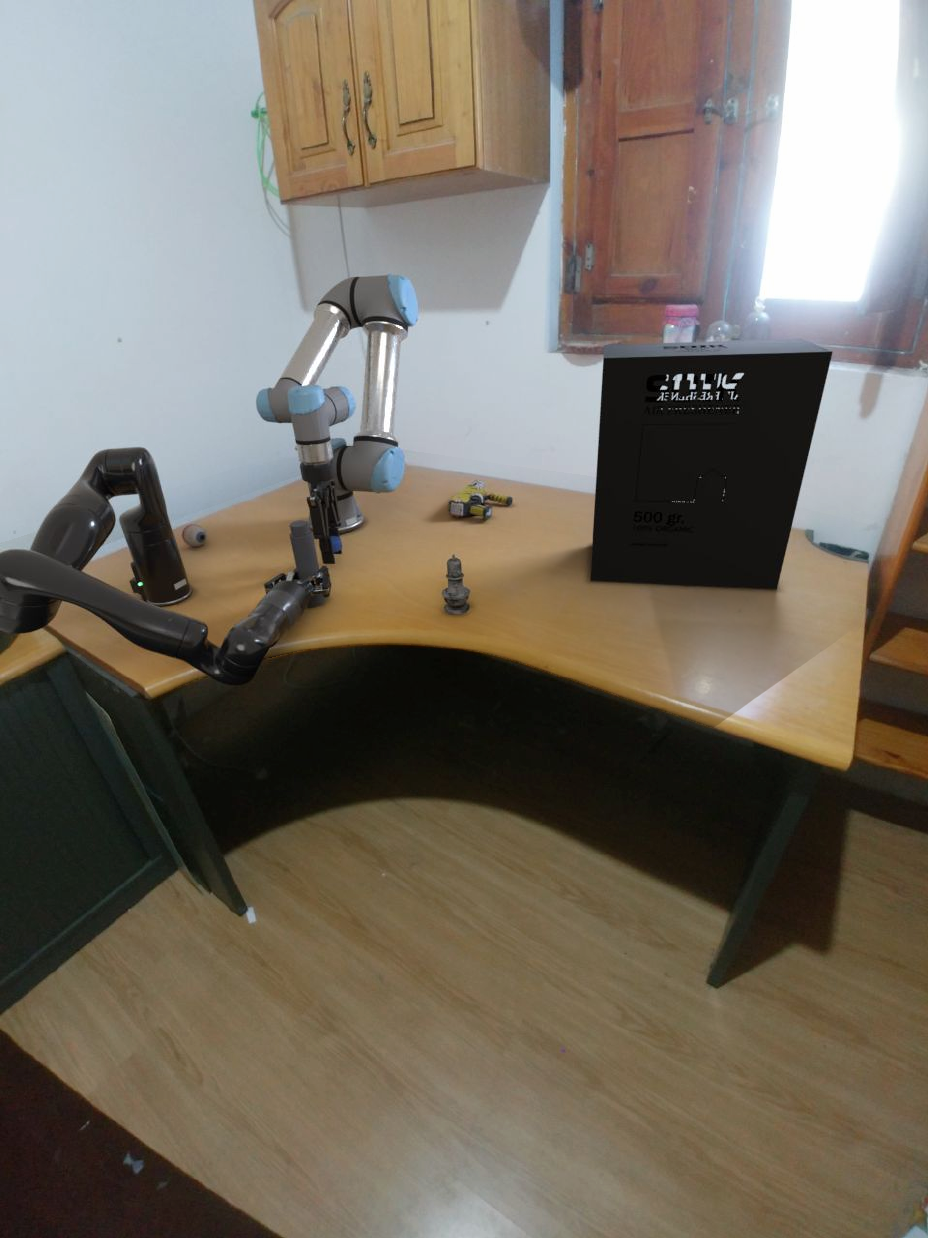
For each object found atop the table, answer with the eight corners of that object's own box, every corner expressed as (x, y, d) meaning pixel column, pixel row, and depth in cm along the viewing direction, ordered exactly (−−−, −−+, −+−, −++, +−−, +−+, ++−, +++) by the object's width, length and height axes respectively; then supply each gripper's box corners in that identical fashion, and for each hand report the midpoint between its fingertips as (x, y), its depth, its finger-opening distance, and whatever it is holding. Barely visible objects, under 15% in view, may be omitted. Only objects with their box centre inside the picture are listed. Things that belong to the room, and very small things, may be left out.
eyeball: (196, 552, 157) (189, 530, 154) (181, 548, 160) (174, 526, 157) (215, 543, 161) (209, 522, 158) (200, 540, 165) (193, 519, 162)
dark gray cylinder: (314, 595, 133) (299, 518, 124) (329, 599, 131) (315, 521, 122) (299, 603, 129) (282, 525, 121) (314, 608, 127) (298, 529, 118)
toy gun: (520, 484, 182) (474, 477, 186) (498, 508, 162) (446, 499, 166) (519, 500, 184) (473, 492, 188) (497, 524, 164) (445, 516, 168)
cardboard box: (756, 549, 141) (800, 338, 118) (776, 589, 124) (832, 351, 101) (592, 544, 148) (604, 344, 126) (590, 580, 131) (603, 357, 109)
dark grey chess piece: (468, 615, 121) (465, 561, 115) (439, 614, 122) (435, 559, 116) (473, 601, 126) (471, 548, 120) (446, 600, 127) (442, 547, 121)
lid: (331, 554, 139) (329, 545, 138) (315, 550, 142) (313, 541, 141) (346, 547, 143) (345, 537, 142) (331, 543, 146) (329, 534, 145)
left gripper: (250, 623, 118) (286, 584, 132) (320, 626, 115) (348, 585, 130) (241, 589, 114) (279, 552, 128) (313, 591, 112) (343, 553, 126)
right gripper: (313, 450, 141) (328, 543, 152) (285, 472, 125) (305, 574, 136) (344, 450, 140) (357, 543, 151) (320, 472, 124) (337, 574, 136)
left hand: (314, 569), depth 129 cm, fingers closed on dark gray cylinder, 4 cm apart
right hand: (332, 558), depth 144 cm, fingers closed on lid, 5 cm apart
